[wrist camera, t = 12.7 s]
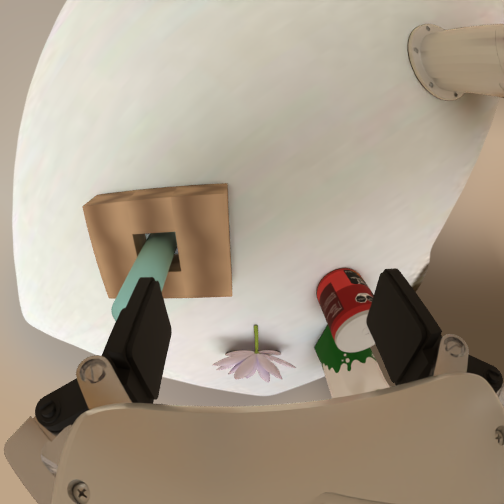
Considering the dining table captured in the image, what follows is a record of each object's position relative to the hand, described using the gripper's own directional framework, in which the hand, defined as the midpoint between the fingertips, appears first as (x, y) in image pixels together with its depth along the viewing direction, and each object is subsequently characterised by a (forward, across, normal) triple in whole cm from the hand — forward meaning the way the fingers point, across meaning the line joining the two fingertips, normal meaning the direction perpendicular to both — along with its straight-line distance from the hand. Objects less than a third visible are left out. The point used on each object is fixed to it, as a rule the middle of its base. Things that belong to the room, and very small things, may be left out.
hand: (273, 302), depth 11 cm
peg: (+24, +12, +9) cm, 29 cm away
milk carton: (+25, -16, +31) cm, 43 cm away
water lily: (+24, +1, +31) cm, 40 cm away
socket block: (+24, +12, +9) cm, 29 cm away
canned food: (+25, -14, +19) cm, 35 cm away
